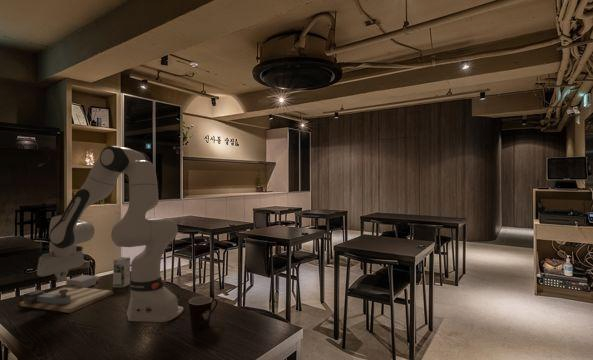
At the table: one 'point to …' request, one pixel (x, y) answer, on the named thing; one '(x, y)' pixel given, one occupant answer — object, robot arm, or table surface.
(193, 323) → the coffee mug
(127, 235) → the robot arm
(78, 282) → the charger
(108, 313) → the table surface
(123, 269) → the syrup box
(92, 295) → the pintle plate
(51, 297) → the link
